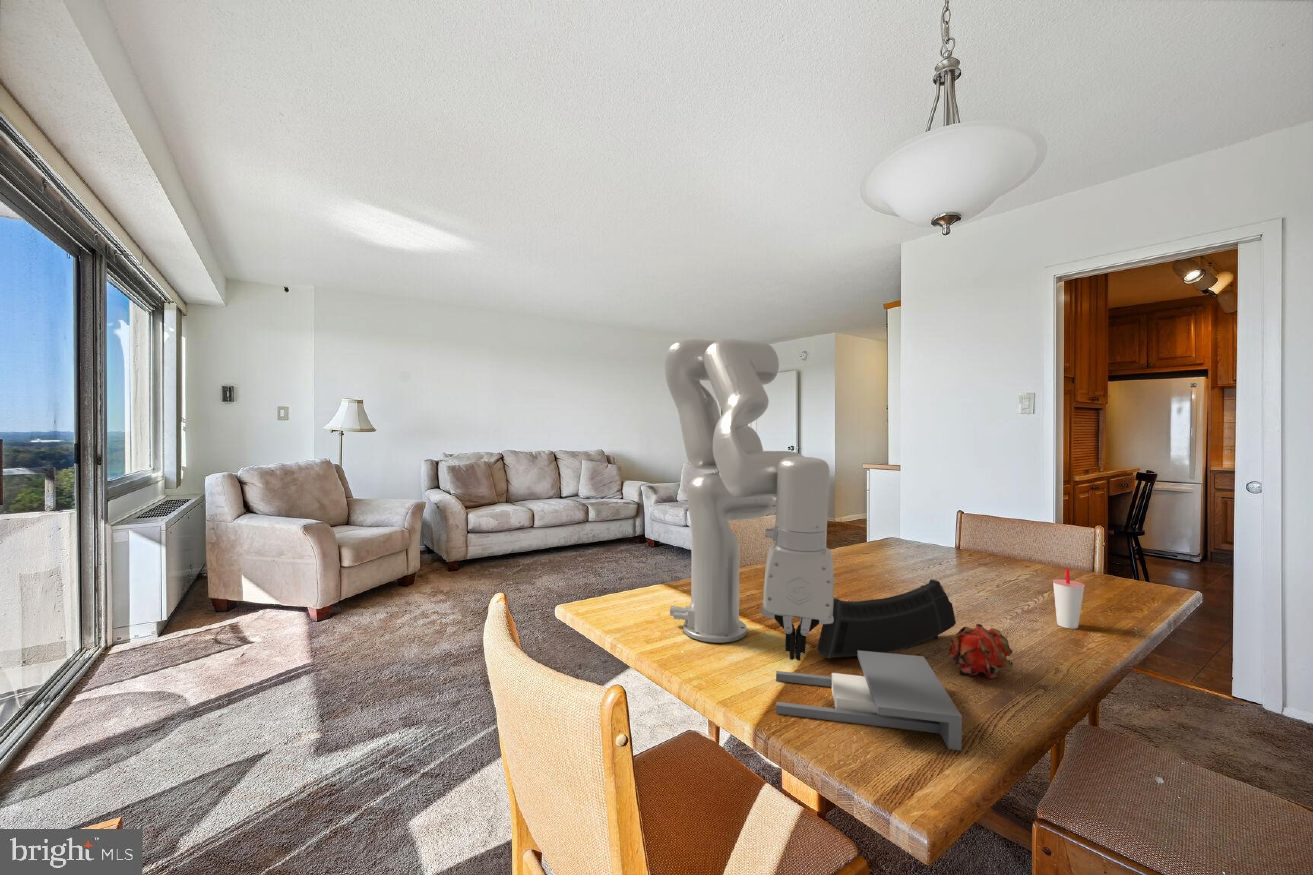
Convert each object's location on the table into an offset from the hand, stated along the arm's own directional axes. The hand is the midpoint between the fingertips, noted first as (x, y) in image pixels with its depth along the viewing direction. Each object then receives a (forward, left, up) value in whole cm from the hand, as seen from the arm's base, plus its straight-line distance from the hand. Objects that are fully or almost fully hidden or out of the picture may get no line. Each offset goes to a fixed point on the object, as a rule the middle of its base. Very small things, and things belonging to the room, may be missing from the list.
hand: (794, 655), depth 82 cm
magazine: (+18, +22, -6) cm, 29 cm away
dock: (+9, -1, -6) cm, 11 cm away
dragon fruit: (+30, +14, -6) cm, 34 cm away
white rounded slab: (+11, -1, -6) cm, 13 cm away
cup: (+56, +42, -6) cm, 70 cm away
